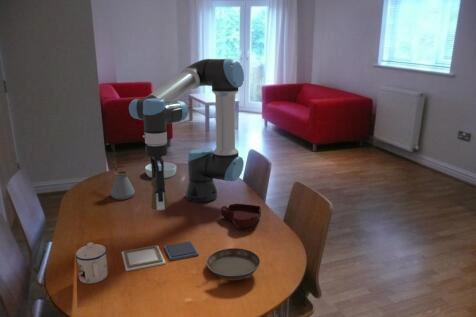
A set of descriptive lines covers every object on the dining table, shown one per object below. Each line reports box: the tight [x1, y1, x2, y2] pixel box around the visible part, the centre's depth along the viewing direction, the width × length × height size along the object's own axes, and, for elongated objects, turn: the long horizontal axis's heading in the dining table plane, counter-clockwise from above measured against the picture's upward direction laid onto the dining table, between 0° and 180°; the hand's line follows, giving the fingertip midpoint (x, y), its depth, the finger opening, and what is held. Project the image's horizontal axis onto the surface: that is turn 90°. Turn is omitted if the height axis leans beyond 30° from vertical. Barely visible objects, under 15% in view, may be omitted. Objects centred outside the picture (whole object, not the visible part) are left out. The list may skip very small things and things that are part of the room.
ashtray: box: [220, 203, 262, 230], centre depth 173 cm, size 18×16×5 cm
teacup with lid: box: [75, 241, 109, 285], centre depth 128 cm, size 12×9×12 cm
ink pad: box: [164, 240, 199, 261], centre depth 147 cm, size 10×10×1 cm
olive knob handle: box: [150, 177, 169, 211], centre depth 147 cm, size 6×6×11 cm
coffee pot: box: [109, 160, 136, 201], centre depth 201 cm, size 21×12×15 cm, turn 29°
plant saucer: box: [206, 247, 261, 281], centre depth 136 cm, size 18×18×3 cm
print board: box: [121, 245, 166, 272], centre depth 142 cm, size 13×13×1 cm
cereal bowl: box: [144, 161, 177, 179], centre depth 228 cm, size 17×17×7 cm
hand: (159, 206), depth 148 cm, fingers closed on olive knob handle, 6 cm apart
